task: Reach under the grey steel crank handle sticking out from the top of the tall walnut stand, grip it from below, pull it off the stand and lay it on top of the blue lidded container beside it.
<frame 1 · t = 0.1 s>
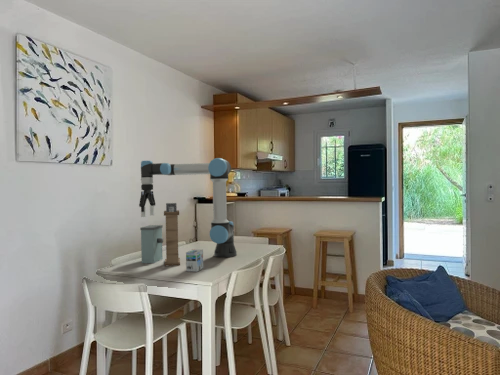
hand: (147, 216, 247), 28 cm above the table, tool pointing down, fingers open, 13 cm apart
light bulb box: (194, 270, 210), on the table
crank handle: (171, 210, 237), point 32 cm above the table, touching tall stand
tall stand: (172, 263, 230), on the table
blue lidded container: (152, 260, 238), on the table
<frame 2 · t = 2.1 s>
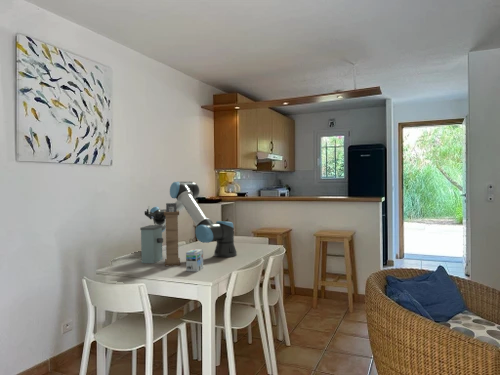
hand: (158, 207, 260), 33 cm above the table, tool pointing upward, fingers open, 13 cm apart
nothing on the table moved.
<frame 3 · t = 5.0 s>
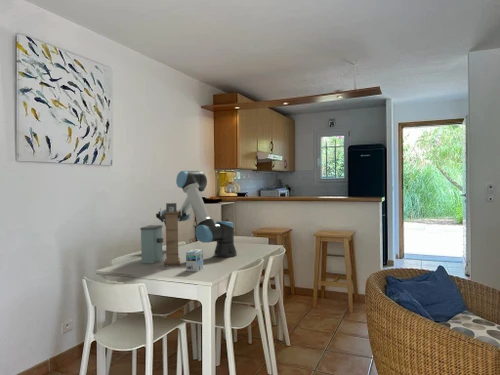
hand: (171, 209, 249), 32 cm above the table, tool pointing upward, fingers open, 13 cm apart
nothing on the table moved.
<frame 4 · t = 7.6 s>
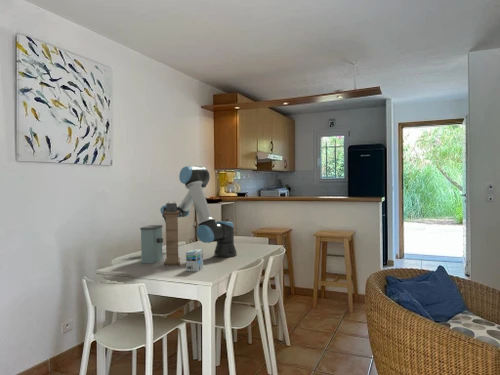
hand: (171, 203, 241), 36 cm above the table, tool pointing upward, fingers closed on crank handle, 3 cm apart
crank handle: (171, 210, 237), point 32 cm above the table, touching gripper, tall stand
everything else where it was.
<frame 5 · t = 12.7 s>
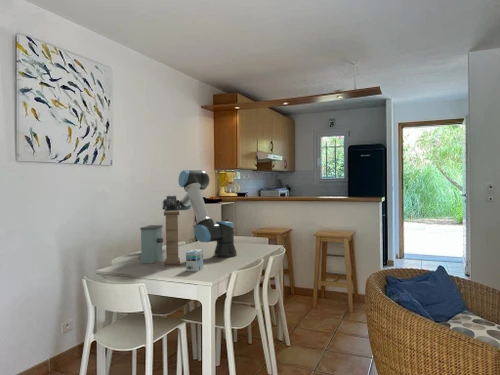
hand: (171, 196, 255), 40 cm above the table, tool pointing upward, fingers closed on crank handle, 3 cm apart
crank handle: (171, 203, 251), point 36 cm above the table, touching gripper
everything else where it was.
when the fingers open (28 cm above the table, at t = 17.6 s): crank handle drops 2 cm, resting on blue lidded container.
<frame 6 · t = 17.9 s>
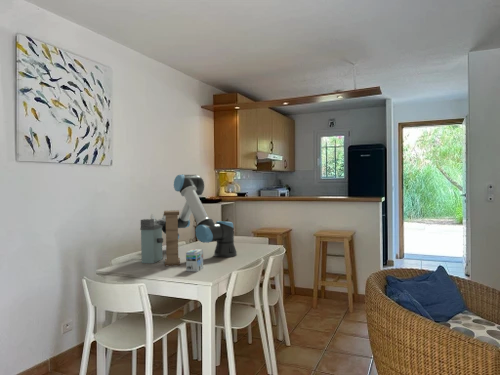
hand: (157, 215, 247), 28 cm above the table, tool pointing upward, fingers open, 8 cm apart
crank handle: (154, 225, 242), point 22 cm above the table, touching blue lidded container
everything else where it was.
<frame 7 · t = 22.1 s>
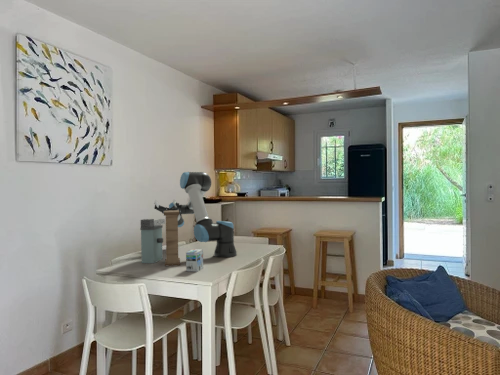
hand: (164, 201, 260), 37 cm above the table, tool pointing upward, fingers open, 13 cm apart
nothing on the table moved.
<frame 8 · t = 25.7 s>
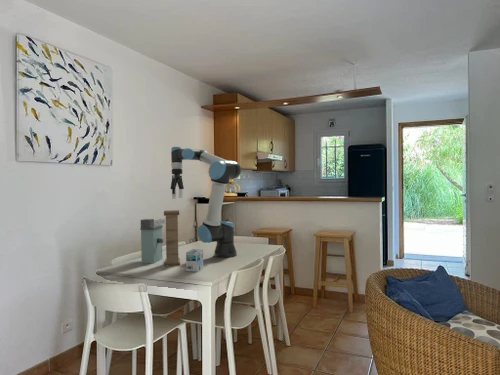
hand: (177, 198, 266), 39 cm above the table, tool pointing down, fingers open, 13 cm apart
nothing on the table moved.
at the end: crank handle inside the target area on the blue lidded container (0.5 cm from its centre), point 22.0 cm above the blue lidded container's base; crank handle touching blue lidded container; the gripper is holding nothing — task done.
